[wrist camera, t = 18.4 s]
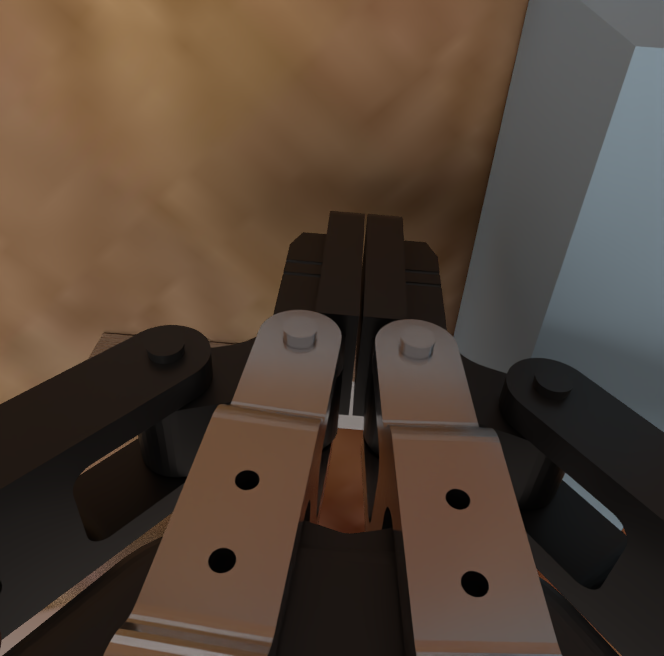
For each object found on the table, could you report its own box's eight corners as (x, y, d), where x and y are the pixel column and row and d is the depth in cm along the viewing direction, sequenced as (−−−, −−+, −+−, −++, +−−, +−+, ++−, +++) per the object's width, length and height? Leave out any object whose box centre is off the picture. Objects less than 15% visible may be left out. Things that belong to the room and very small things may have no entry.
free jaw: (555, 364, 18) (614, 549, 13) (448, 355, 18) (471, 536, 13) (699, -25, 12) (906, 65, 7) (537, -36, 12) (636, 46, 7)
